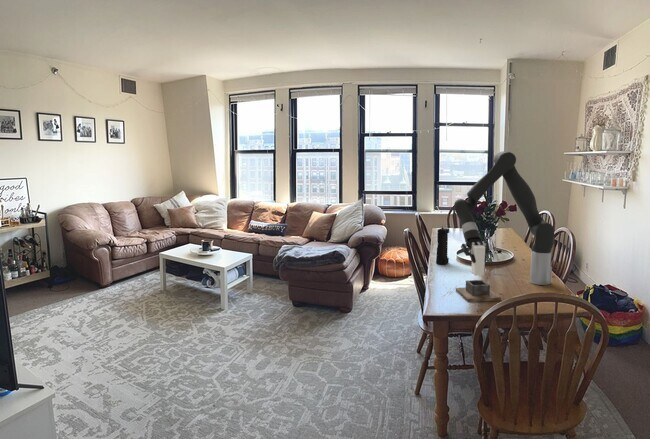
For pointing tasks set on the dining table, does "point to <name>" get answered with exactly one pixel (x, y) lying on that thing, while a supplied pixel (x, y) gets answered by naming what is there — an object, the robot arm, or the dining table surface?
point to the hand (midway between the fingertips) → (479, 262)
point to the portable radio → (442, 246)
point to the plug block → (478, 260)
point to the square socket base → (477, 291)
